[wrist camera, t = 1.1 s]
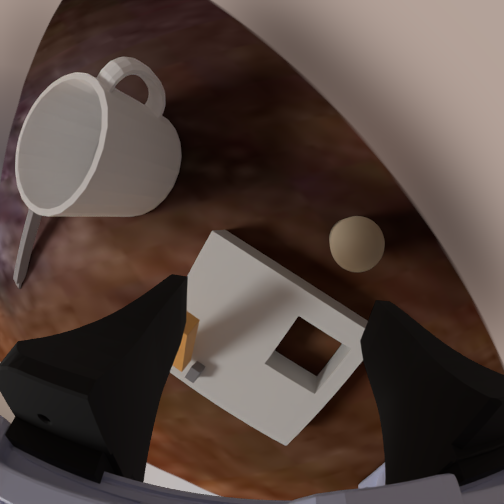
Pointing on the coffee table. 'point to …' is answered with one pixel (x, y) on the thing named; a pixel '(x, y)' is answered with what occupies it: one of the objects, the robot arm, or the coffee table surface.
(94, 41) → the coffee table surface
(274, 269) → the white flat block
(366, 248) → the peg
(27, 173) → the mug
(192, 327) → the latch
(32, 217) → the caliper
